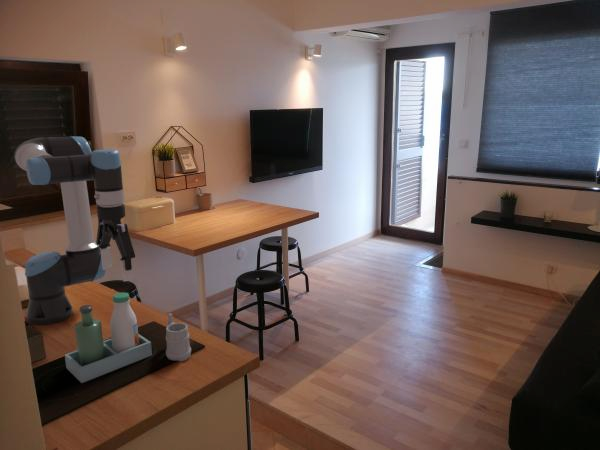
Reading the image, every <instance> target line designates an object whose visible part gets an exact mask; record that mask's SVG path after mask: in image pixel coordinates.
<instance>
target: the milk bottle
mask: <svg viewBox="0 0 600 450" xmlns="http://www.w3.org/2000/svg"><path fill="white" fill-rule="evenodd" d="M112 301H113V302H112V303H113V304H114V307H113V310H112V313H111V315H110V321H109V323H110V324H109V327H110V339H112V348H113V350H114V351H115V352H116V353H120V352H122V351H125V350H128V349H130V348H133V347H136V346H138V345H139V337H138V334H139V330H138V329H139V328H138V327H139V326H138V320H137V316H136V314H135V311H134V310H133V309H132V307H131V305H130V301H131V300H130V294H129V292H117V293H115V294H113V295H112Z"/></svg>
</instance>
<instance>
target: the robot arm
mask: <svg viewBox="0 0 600 450" xmlns="http://www.w3.org/2000/svg"><path fill="white" fill-rule="evenodd" d="M14 161H15V163H16V165H17V166H18V167H19V168H20V169H22V170H23V171H26V175H27V179H28V182H29V183H30V184H31V185H33V186H36V185H37V186H38V185H39V186H40V185H41V186H46V185H50V184H52V185H53V184H60V188H61V195H62V196H61V197H62V202H63V210H64V211H63V212H64V217H65V226H66V231H67V232H66V233H67V239H68V245H67V246H66V248H65V254H62V255H61V253H60V252H59V251H45V252H42V253H38V254H36V255H33V256H32V257H30V258H29V259H27V260H26V262H25V264H24V270H25V271H24V272H25V273H24V275H25V277H26V284H27V291H28V292H27V293H28V300H29V301H28V304H27V305H28V306H27V309H26V315H25V316H26V317H25V318H26V321H27V323H28V324H30V325H34V326H47V325H52V324H57V323H60V322H62V321H65V320H67V319H69V318H70V317H71V316H73V313H74V309H73V306H72V303H71V302H70V299H69V298H68V296H67V295H66V290H65V287H69V286H75V285H80V284H85V283H89V282H91V283H92V282H95V281H98V280H102V279H103V278H104V277H105V275H106V272H107V270H110V269H112V268H113V262H112V254H111V253H112V251H111V244H110V243H111V241H112V240H113V241H114V242H115V244H116V247H117V248H118V252H119V254H120V256H121V258H119V260H120V264H121V274H122V275H121V276H122V282H124V283H125V282H128V281H131V280H134V275H133V265H132V264H133V263H132V259H134V258H136V254H135V250H134V246H133V243H132V240H131V237H130V234H129V229H128V225H127V223H123V224H122V219H123V218H125V217H126V207H125V204H124V203H125V193H124V185H123V175H122V174H123V173H122V161H121V155H120V151H118V150H117V149H111V148H110V149H96V150H91V147H90V144H89V143H88V140H86V138H85V137H83V136H72V135H70V136H50V137H35V138H32V139H29V140H26V141H23V142H22V143H21V144H19V145H18V147H16V149H15V151H14ZM87 181H88V182H89V181H93V186H94V195H93V197H94V199H95V203H96V205H97V206H96V214H97V216H96V217H97V221H98V224H97V232H96V233H97V234H96V241H95V237H94V230H93V229H94V228H93V222H92V221H93V220H92V213H91V209H90V208H91V207H90V200H89V192H88V185H87V184H88V183H87Z"/></svg>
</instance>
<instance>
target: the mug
mask: <svg viewBox="0 0 600 450" xmlns="http://www.w3.org/2000/svg"><path fill="white" fill-rule="evenodd" d="M188 327H189V326H188V324H186V323H184V322H174V317H173V314H172V313H168V314H167V326H166V328H165V331H166V333H165V334H166V335H165V341H166V350H165V356H166V357H167V359H168V360H169V361H178V362H185V361H186V360H188V359H189V358H190V357H191V353H192V347H191V346H190V345H191V344H190V333H189V328H188Z"/></svg>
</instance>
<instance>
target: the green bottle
mask: <svg viewBox="0 0 600 450" xmlns="http://www.w3.org/2000/svg"><path fill="white" fill-rule="evenodd" d="M78 309H79V313H80V314H81V321H78V322H77V323H76V324H75V325H74V333H75V339H76V347H77V350H78V357H79V365H80V366H81V367H82V366H85V365H88V364H90V363H93V362H96V361H98V360H101V359H104V358H105V352H104V343H103V341H104V337H103V326H102V321H101V320H100V319H96V318H93V310H94V308H93V305H91V304H86V305H81V306H80V307H79V308H78Z"/></svg>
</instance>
